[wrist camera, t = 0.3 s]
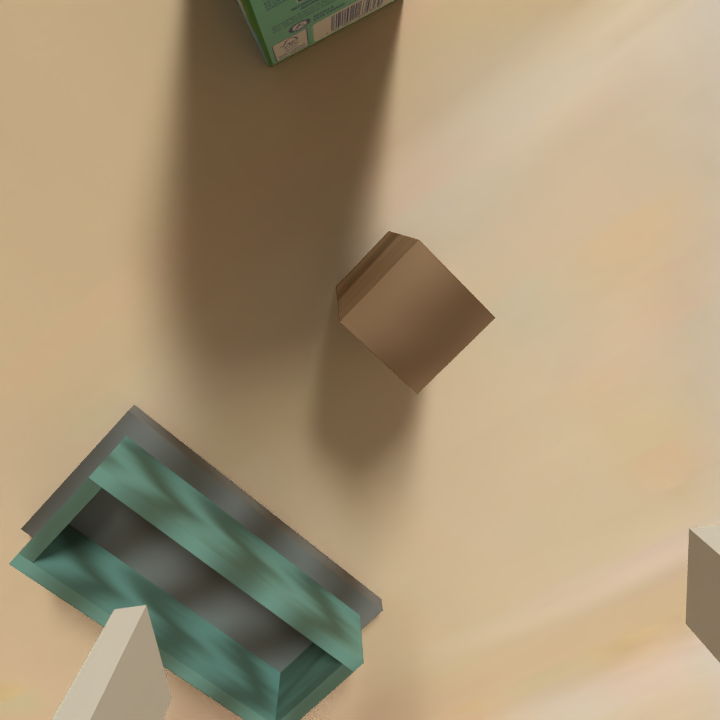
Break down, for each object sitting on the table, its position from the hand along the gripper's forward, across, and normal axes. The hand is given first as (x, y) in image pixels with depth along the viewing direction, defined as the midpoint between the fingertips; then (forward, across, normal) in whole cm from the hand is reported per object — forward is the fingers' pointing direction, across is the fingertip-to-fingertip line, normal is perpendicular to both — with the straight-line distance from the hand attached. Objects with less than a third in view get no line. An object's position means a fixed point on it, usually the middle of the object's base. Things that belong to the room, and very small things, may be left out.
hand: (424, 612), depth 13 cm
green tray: (+25, -13, -14) cm, 32 cm away
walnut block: (+25, +2, +5) cm, 25 cm away
